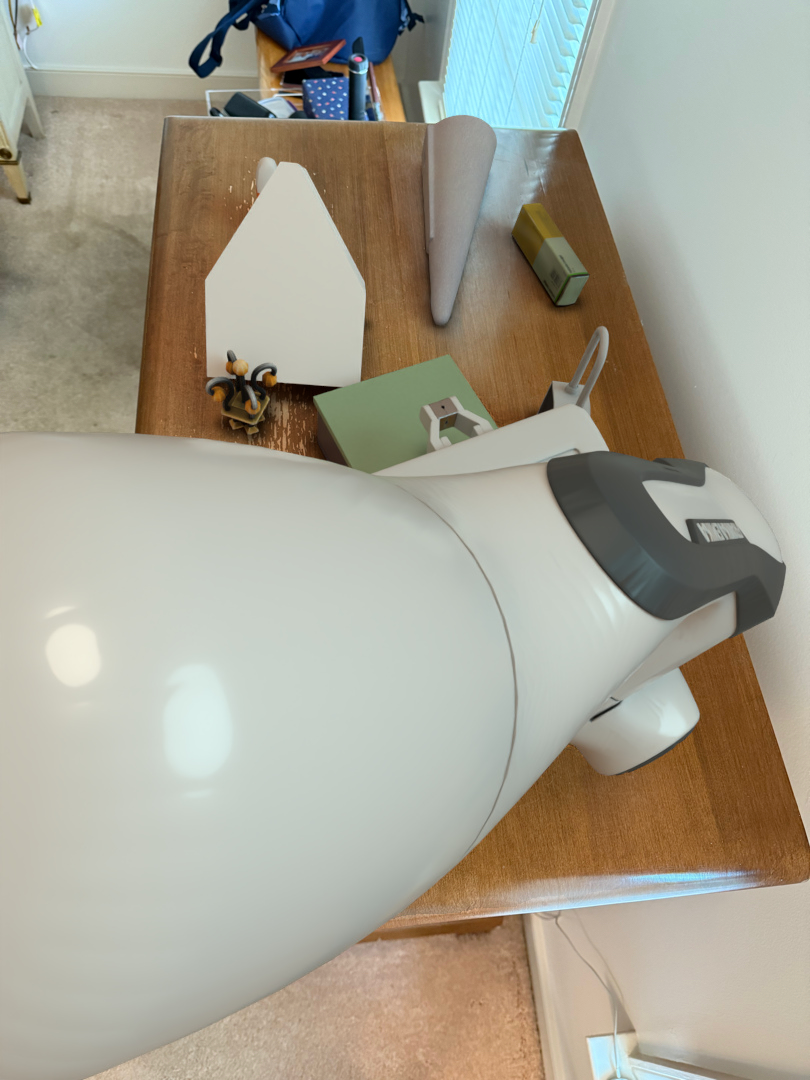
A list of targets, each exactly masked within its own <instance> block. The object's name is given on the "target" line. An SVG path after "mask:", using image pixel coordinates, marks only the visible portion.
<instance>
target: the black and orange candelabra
mask: <svg viewBox="0 0 810 1080" xmlns="http://www.w3.org/2000/svg"><path fill="white" fill-rule="evenodd" d="M227 359H228V362H227V363H226V371H227V372H228V373H229V374H230V375H235V376H236V379H235V380H234V382H233V381H232V379H229V378H226V377H212V378H211V379H209V381H207V382H206V384H205V392H206V394H207V395H209V397H210V399H211V400H212V401H213V402H214V403H222V404H221V405H222V406H221V407H222V408H221V410H220V413H221V415H222V416H225V417H228V418H231V419H229V421H228V422H229V425H230V426H231V428H232V430H237V429H241V428H244V430H245V432H246V434H247V435H248V436H250V435H253V434H256V433H259V431H260V430H259V428H258V425H257V424H258V423H259V422H260V423H261V422H262V421H265V420H266V418H265V415H264V414H263V413H264V411H265V410H266V408H267V406H268V404H269V402H270V400H271V399H270V396H269V395H267V391H266V390H265V388H263V387H262V386H260V385H258V381H256V378H257V376H258V374H259V373H260V372H261V371H263V370H265V369H271V371H267V372H265V373H264V374H263V375H262V381H261V382H262V384H263V385H264V386H265V387H267V388H272V387H274V386H275V385H276V384H277V383H278V382H277V376H276V373H277V367H276V366H275V365H274V364H273V363H264V364H261V365H259V366H258V367H256V368H255V369H254V370H253V372H252V374H251V380H250V384H247V383H246V380H245V374H246V373H247V372H248V363H247V362H245V361H244V360H243V359H238V360H237V358H236V356H235V354H234V352H233V351H232V350H228V351H227ZM217 384H226V385H227V388H228V389H227V390H228V393H227V392H226V390H225V389H224V388H223V387H221V386H215V385H217ZM250 385H251V386H250Z"/></svg>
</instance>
